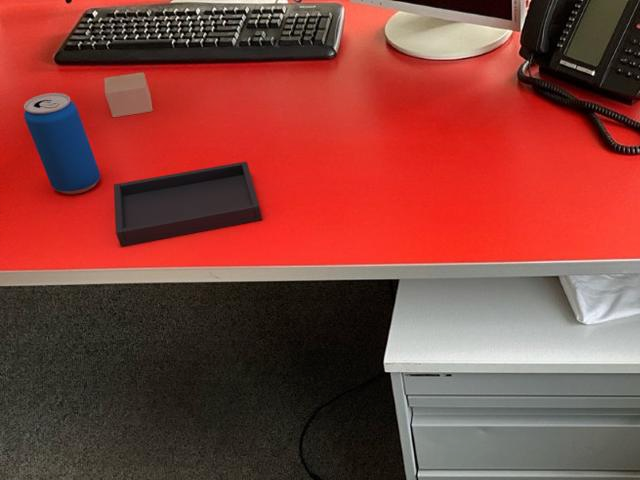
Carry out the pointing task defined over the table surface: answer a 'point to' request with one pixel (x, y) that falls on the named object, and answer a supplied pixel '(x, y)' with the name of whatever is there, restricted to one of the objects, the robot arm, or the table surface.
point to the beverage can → (61, 143)
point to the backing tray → (185, 203)
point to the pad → (128, 94)
